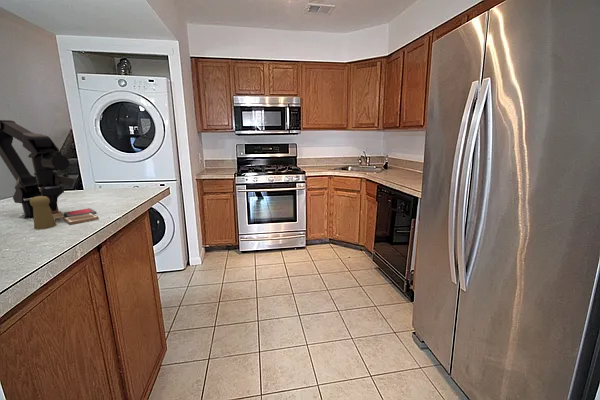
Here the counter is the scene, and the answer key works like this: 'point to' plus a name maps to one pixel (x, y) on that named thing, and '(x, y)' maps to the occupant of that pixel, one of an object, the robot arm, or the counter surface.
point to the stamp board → (81, 218)
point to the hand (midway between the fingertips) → (52, 209)
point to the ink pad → (79, 212)
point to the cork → (42, 213)
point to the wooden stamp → (57, 214)
